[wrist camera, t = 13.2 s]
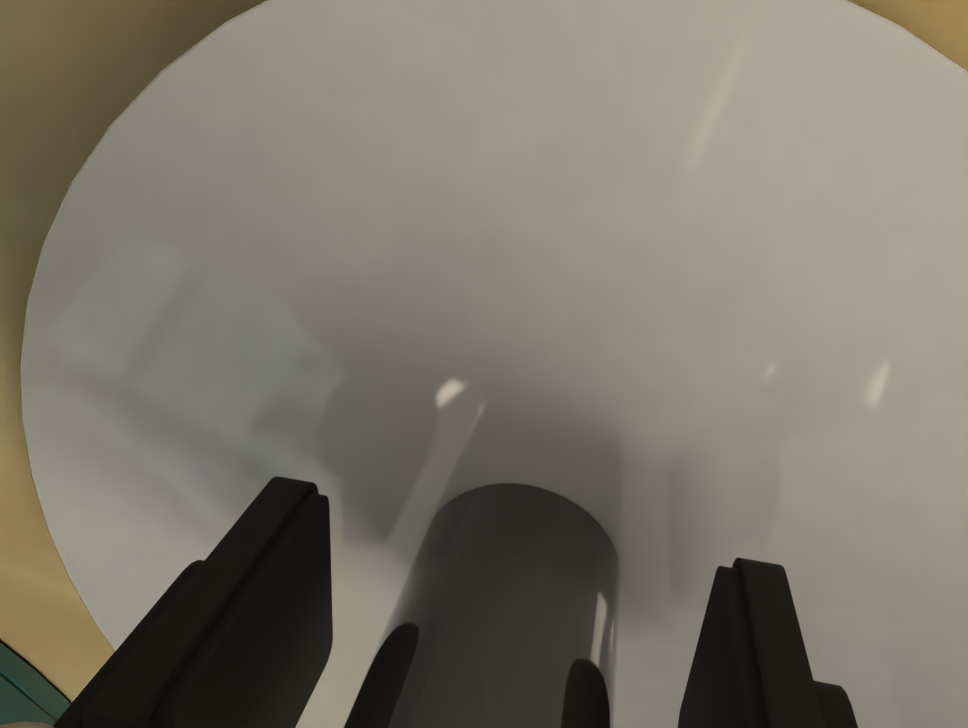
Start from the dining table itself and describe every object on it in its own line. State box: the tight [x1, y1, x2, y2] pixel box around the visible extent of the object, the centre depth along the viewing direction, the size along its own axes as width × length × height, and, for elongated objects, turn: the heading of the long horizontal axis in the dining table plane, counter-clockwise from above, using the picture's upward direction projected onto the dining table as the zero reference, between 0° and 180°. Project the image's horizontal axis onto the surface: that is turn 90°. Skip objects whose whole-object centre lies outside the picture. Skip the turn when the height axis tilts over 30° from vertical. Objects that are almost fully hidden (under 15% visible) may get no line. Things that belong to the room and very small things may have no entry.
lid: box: [20, 0, 968, 728], centre depth 9 cm, size 17×17×7 cm
